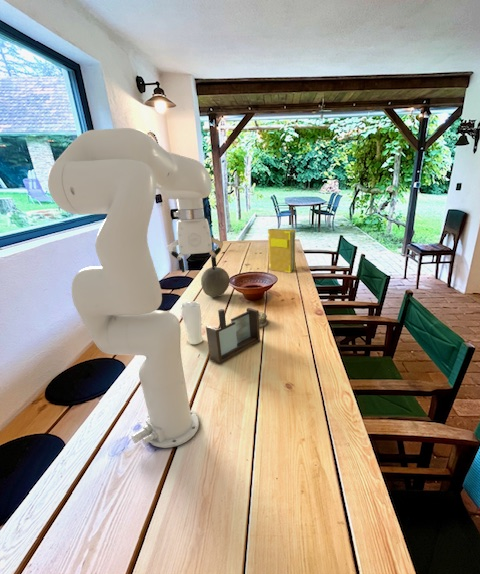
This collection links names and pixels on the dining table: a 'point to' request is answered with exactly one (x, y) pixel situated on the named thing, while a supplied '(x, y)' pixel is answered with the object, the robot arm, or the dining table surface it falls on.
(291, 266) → the book
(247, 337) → the window frame
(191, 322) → the drinking glass
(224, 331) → the sliding pane
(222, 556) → the dining table surface
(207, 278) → the cantaloupe
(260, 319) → the cake
